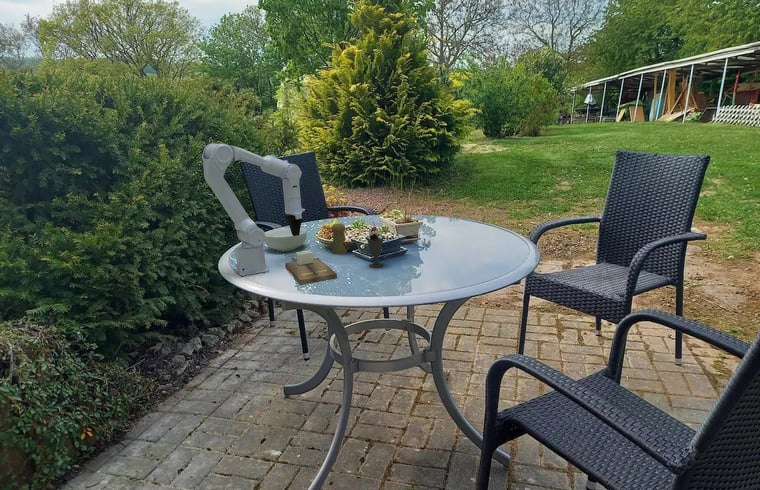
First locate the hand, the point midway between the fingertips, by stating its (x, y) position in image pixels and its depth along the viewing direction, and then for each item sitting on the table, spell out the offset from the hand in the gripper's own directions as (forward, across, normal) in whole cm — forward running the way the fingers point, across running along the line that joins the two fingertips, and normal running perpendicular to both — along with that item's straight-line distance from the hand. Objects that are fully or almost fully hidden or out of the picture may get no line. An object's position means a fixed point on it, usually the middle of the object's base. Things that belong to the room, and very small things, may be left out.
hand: (295, 235), depth 161 cm
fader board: (+9, -16, 0) cm, 19 cm away
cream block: (+8, -10, 0) cm, 13 cm away
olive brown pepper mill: (+10, +2, -17) cm, 20 cm away
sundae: (+10, -21, -22) cm, 32 cm away
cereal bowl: (+10, +18, 0) cm, 20 cm away
